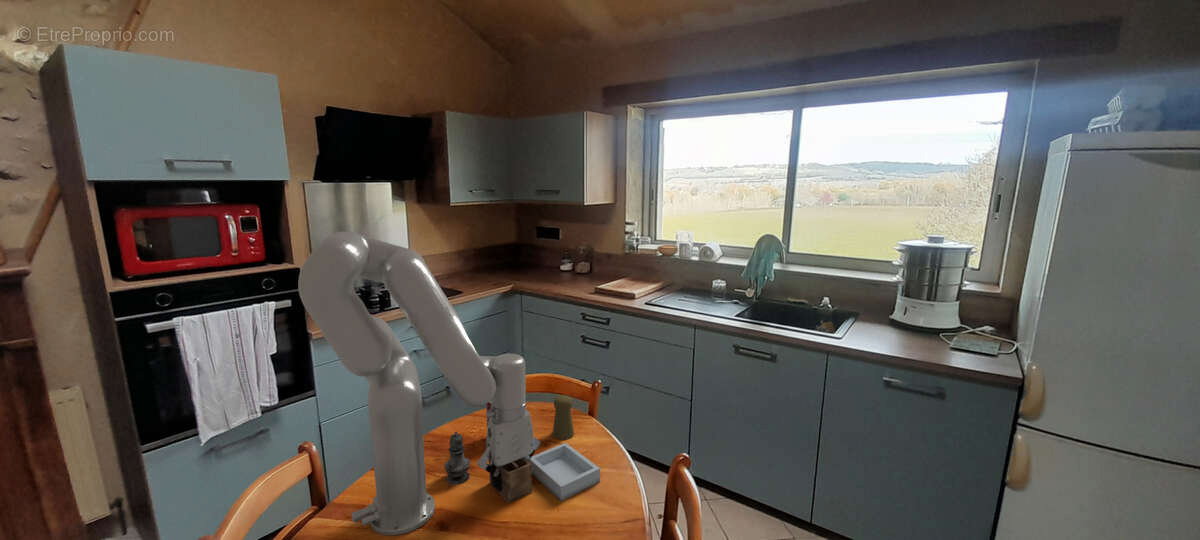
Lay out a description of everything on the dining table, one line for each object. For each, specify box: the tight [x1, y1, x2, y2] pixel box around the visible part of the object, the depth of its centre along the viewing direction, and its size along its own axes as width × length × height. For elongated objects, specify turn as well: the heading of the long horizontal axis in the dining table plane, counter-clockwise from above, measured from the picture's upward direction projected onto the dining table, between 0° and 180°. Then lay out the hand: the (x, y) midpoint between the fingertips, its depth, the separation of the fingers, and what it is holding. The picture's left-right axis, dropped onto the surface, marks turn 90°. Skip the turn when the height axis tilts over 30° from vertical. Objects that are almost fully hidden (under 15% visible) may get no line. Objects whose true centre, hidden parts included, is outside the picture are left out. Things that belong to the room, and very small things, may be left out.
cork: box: [552, 394, 575, 441], centre depth 130 cm, size 6×6×11 cm
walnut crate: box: [488, 457, 533, 504], centre depth 107 cm, size 6×9×7 cm, turn 39°
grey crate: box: [530, 442, 601, 502], centre depth 112 cm, size 11×14×4 cm
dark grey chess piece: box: [443, 430, 471, 486], centre depth 110 cm, size 6×6×12 cm
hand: (510, 482), depth 108 cm, fingers closed on walnut crate, 6 cm apart
